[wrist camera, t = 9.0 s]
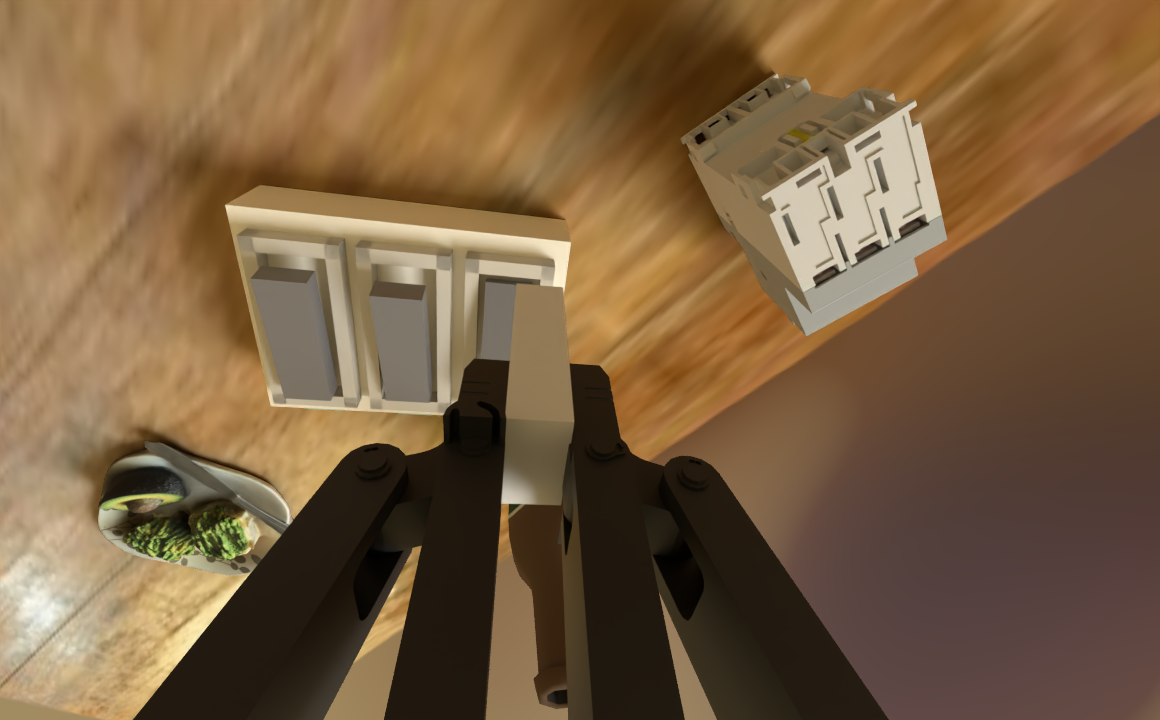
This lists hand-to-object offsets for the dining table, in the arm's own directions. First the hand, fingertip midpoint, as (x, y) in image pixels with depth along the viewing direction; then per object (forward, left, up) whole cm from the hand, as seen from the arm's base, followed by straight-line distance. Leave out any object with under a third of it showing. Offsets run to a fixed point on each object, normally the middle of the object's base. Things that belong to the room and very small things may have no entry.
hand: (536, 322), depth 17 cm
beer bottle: (+26, +4, -24) cm, 36 cm away
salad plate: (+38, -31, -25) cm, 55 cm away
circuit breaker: (0, +18, -24) cm, 30 cm away
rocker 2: (+12, -8, -17) cm, 22 cm away
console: (+12, -8, -24) cm, 28 cm away
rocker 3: (+12, -1, -17) cm, 21 cm away
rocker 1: (+12, -15, -17) cm, 26 cm away
